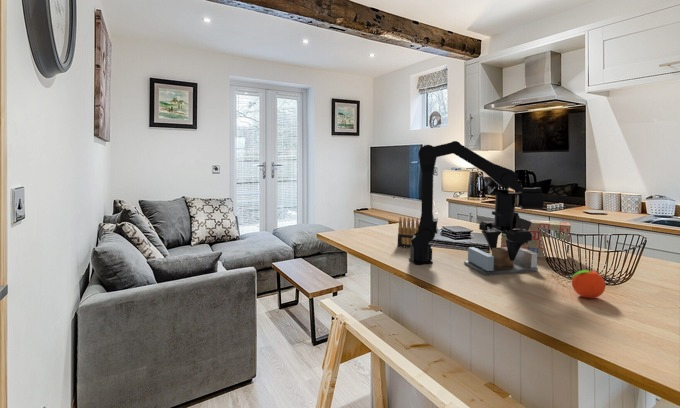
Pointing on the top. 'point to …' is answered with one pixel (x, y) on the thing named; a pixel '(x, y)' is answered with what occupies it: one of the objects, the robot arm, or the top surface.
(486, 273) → the vise base
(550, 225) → the stack of blocks
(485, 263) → the plate
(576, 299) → the top surface
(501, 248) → the walnut block
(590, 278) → the clementine
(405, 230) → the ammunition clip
